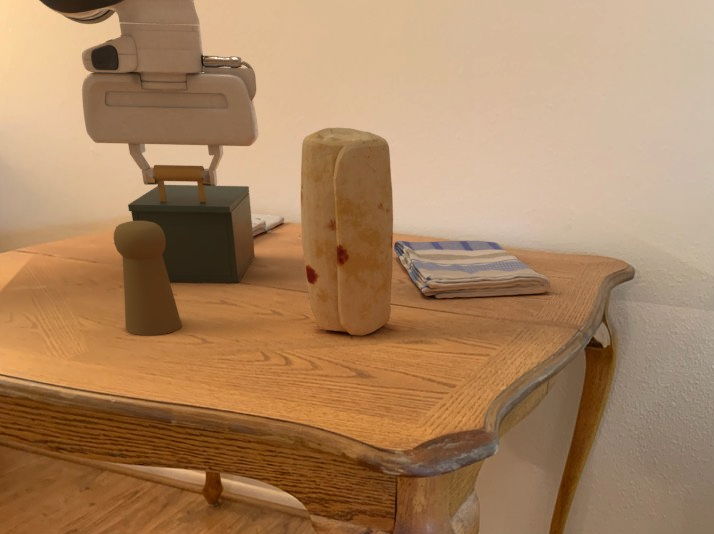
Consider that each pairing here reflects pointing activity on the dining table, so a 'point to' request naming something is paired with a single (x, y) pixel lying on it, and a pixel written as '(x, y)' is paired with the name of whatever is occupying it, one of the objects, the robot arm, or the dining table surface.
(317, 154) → the food model
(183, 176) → the bin lid
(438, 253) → the dish towel
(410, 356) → the dining table surface
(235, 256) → the bin
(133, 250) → the cork
